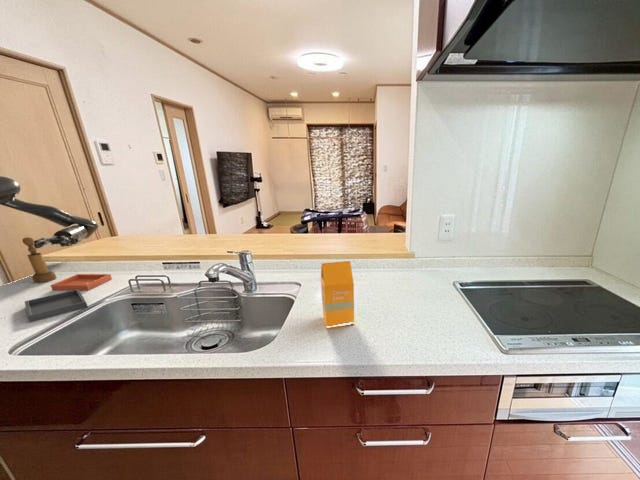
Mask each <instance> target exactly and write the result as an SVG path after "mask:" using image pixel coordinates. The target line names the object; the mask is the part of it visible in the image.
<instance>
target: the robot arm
mask: <svg viewBox="0 0 640 480" xmlns="http://www.w3.org/2000/svg"><path fill="white" fill-rule="evenodd" d="M20 192H21V185H20V184H19V182H17V181H16V180H14V179H12V178H10V177H8V176H2V175H0V206H3V207H6V208H10V209H12V210H13V209H14V210H16V211H19V212H23V213H27V214H30V215H33V216H36V217H38V218H42V219H44V220H46V221H49V222H52V223H54V224H56V225H59V226H61V227H63V228H62V229H60V230H57V231H55V232H54V233H53V235H52V236H51V237H41V238H38V239H35V240H34V244H33V246H34V248H36V249H40V248H43V247H52V246H60V247H61V248H64V247H70V246H73V245H77V244H79V243H80V242H82V240H87V239H89V238H90V237H91V236H92V235H93V234H94V233H95V232H96V231H97V230H98V229H99V224H98V223H97V222H96V221H95V220H92V219H89V218H86V217H82V216H78V215H74V214H71V213H69V212H67V211H64V210H63V209H60V208H59V207H55V206H52V205H47V204H46V205H45V204H38V203H34V202H33V203H32V202H28V201H24V200H21V199H18V198H16V197H17V196H18V195H19V194H20Z"/></svg>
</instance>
